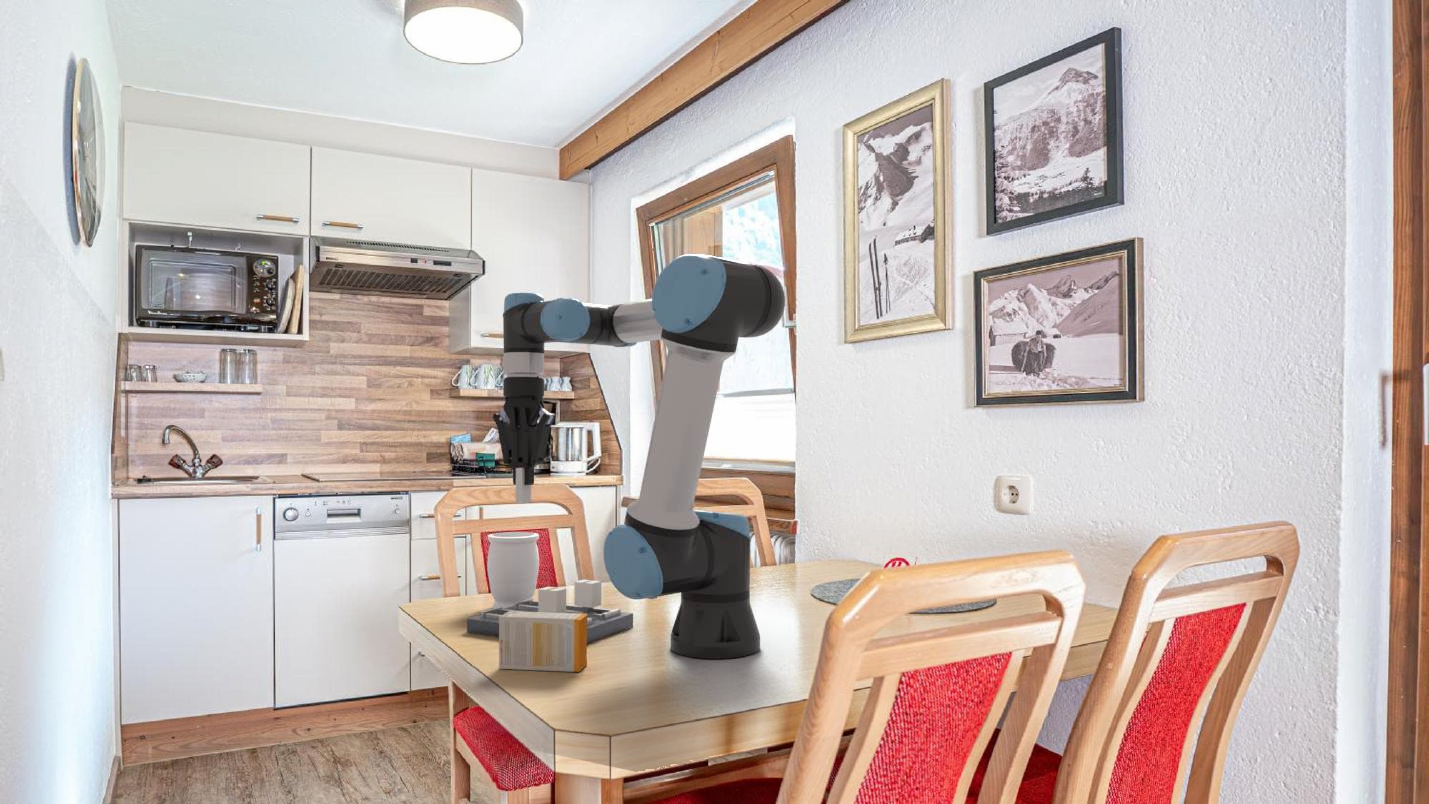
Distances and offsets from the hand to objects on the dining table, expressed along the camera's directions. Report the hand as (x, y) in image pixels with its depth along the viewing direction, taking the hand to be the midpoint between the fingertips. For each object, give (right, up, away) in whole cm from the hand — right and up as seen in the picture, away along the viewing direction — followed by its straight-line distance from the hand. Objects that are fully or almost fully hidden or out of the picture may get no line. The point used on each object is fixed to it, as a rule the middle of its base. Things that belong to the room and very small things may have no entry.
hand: (523, 502), depth 174 cm
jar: (-5, -24, +16) cm, 29 cm away
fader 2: (+12, -20, -2) cm, 24 cm away
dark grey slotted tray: (+6, -23, -3) cm, 24 cm away
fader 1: (+7, -20, -9) cm, 23 cm away
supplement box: (+16, -19, -30) cm, 38 cm away
